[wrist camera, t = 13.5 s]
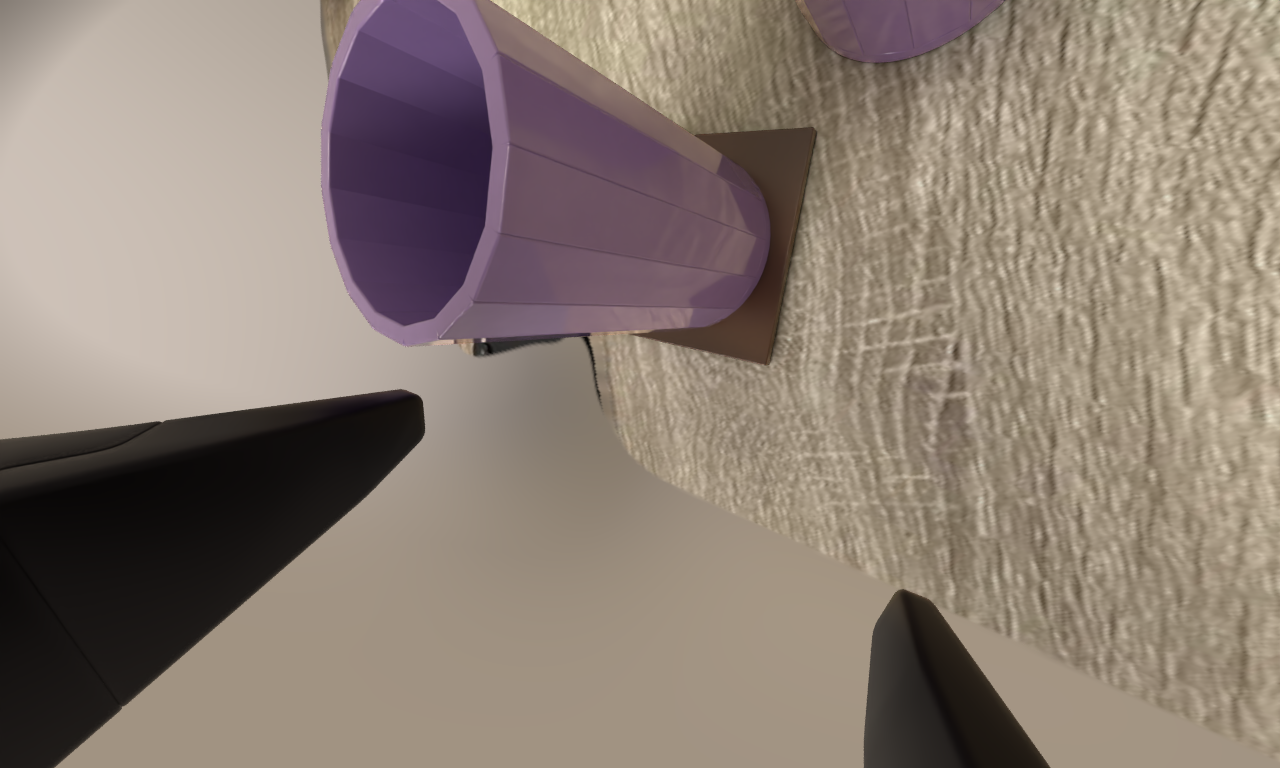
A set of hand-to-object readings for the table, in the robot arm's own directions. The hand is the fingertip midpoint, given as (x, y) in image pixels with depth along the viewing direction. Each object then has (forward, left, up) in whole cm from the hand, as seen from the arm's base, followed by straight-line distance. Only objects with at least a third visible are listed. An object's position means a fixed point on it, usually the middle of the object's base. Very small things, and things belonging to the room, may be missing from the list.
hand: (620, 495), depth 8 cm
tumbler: (+5, +6, -11) cm, 13 cm away
